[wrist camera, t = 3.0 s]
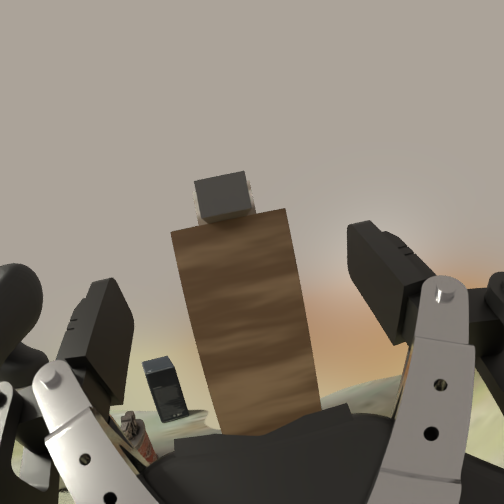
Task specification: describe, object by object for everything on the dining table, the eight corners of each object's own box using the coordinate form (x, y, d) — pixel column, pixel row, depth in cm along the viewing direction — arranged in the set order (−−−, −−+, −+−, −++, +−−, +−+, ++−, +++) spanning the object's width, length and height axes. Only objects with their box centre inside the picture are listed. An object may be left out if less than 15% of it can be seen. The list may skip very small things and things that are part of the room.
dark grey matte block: (252, 208, 25) (244, 170, 25) (201, 218, 25) (194, 181, 25) (243, 221, 44) (238, 200, 44) (214, 227, 44) (209, 205, 44)
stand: (328, 459, 35) (275, 164, 33) (237, 479, 34) (162, 187, 32) (308, 415, 47) (263, 184, 46) (235, 431, 47) (180, 201, 45)
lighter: (142, 458, 41) (119, 406, 40) (162, 455, 42) (140, 403, 41) (136, 489, 33) (108, 434, 33) (159, 487, 34) (132, 431, 33)
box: (190, 415, 54) (174, 365, 54) (161, 424, 52) (144, 374, 51) (181, 400, 61) (167, 354, 61) (156, 407, 59) (140, 361, 59)
